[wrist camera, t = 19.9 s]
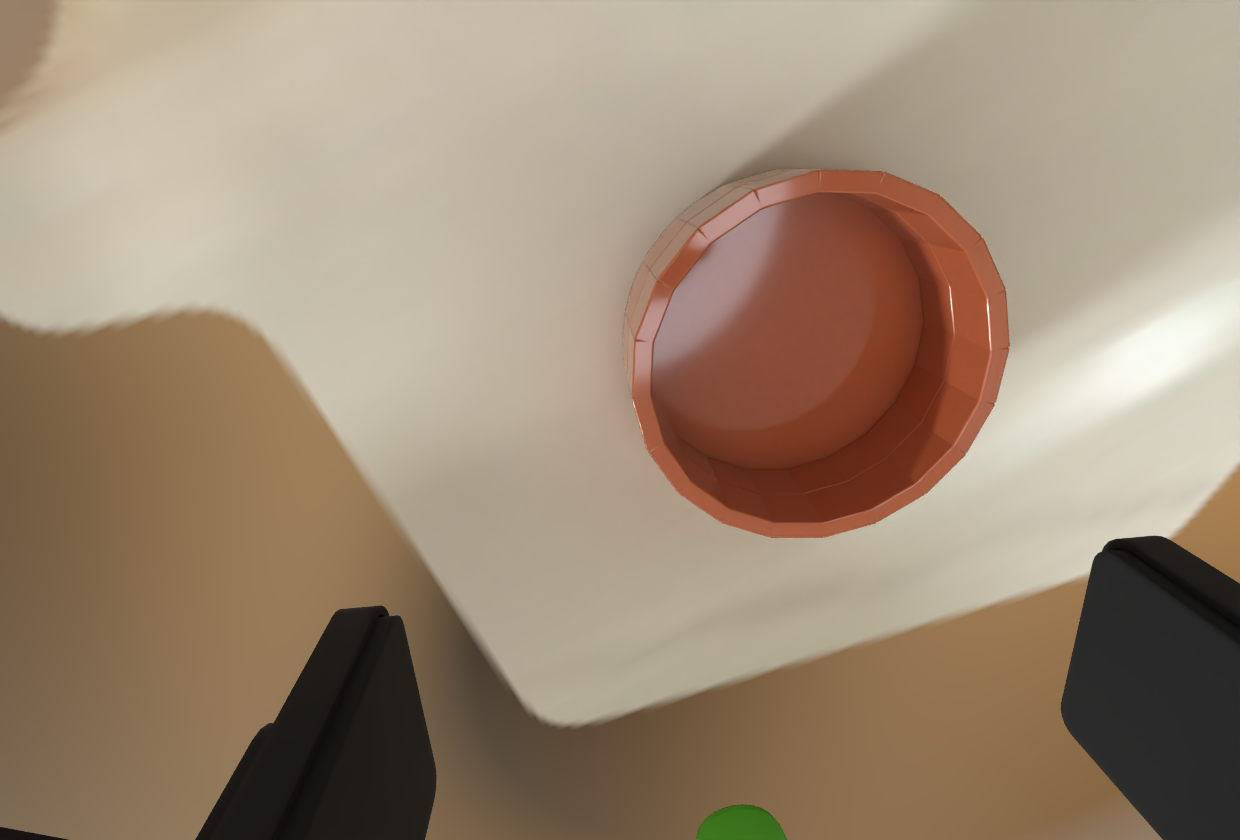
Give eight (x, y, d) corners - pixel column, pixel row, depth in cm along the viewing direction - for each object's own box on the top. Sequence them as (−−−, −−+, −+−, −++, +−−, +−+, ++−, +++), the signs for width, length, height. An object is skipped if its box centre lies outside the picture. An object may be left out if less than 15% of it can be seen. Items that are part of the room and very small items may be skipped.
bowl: (629, 163, 26) (641, 161, 20) (961, 176, 26) (1053, 177, 21) (617, 475, 30) (625, 538, 25) (899, 477, 31) (962, 538, 26)
